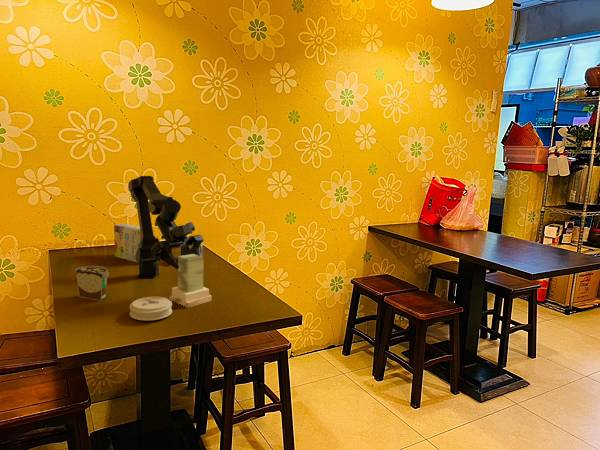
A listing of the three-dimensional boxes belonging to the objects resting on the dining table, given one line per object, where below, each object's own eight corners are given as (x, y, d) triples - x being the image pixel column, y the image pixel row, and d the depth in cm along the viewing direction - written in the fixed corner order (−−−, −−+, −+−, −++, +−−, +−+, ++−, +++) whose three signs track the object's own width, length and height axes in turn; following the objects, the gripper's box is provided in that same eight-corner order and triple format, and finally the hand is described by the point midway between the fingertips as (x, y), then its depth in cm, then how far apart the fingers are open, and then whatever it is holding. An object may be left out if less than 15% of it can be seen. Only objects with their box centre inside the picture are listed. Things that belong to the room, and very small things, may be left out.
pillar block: (178, 287, 155) (178, 256, 153) (193, 284, 159) (193, 253, 158) (188, 291, 151) (188, 259, 149) (203, 288, 155) (203, 257, 154)
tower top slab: (171, 294, 156) (171, 287, 155) (194, 289, 162) (194, 282, 161) (186, 302, 149) (186, 294, 149) (209, 296, 156) (209, 289, 155)
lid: (177, 318, 140) (177, 303, 140) (135, 326, 134) (134, 310, 133) (165, 305, 151) (165, 291, 150) (125, 312, 144) (125, 297, 143)
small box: (193, 264, 199) (193, 241, 197) (179, 263, 201) (179, 240, 199) (203, 258, 210) (203, 236, 208) (190, 257, 211) (190, 235, 209)
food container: (117, 296, 157) (116, 268, 155) (104, 301, 151) (103, 272, 150) (89, 291, 161) (88, 263, 159) (75, 296, 155) (74, 268, 153)
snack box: (155, 262, 200) (154, 229, 197) (144, 265, 196) (144, 230, 193) (124, 254, 211) (123, 222, 208) (113, 256, 207) (112, 224, 204)
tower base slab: (169, 302, 155) (169, 295, 155) (193, 295, 163) (193, 288, 163) (187, 310, 149) (187, 302, 149) (211, 302, 157) (211, 295, 156)
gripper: (155, 218, 147) (176, 257, 142) (200, 212, 162) (221, 248, 157) (141, 237, 153) (161, 276, 149) (186, 230, 168) (206, 265, 163)
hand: (189, 265), depth 154 cm, fingers open, 9 cm apart
